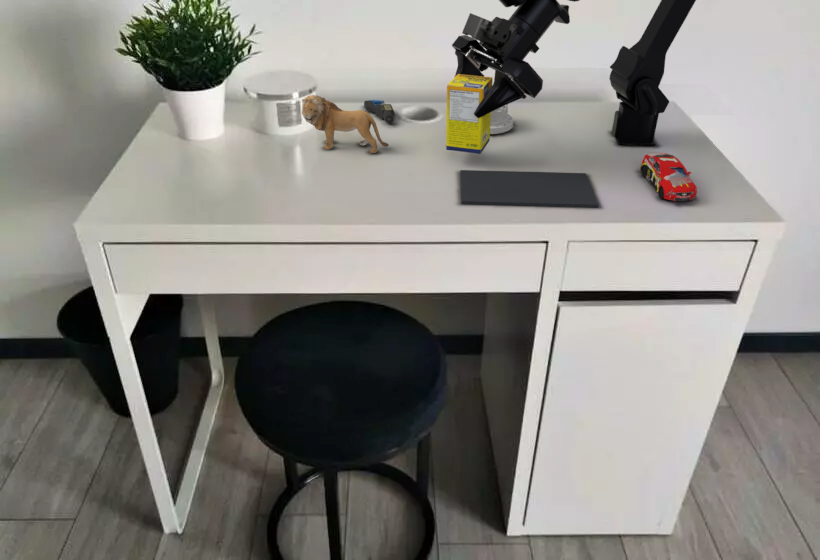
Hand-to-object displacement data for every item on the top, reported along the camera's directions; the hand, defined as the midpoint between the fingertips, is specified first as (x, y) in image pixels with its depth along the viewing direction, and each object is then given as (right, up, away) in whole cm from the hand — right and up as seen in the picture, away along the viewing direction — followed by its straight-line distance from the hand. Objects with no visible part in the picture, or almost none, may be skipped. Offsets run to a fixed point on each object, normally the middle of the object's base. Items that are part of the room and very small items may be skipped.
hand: (461, 108), depth 113 cm
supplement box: (+1, -5, +4) cm, 7 cm away
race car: (+32, -13, -2) cm, 34 cm away
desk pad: (+10, -13, -4) cm, 17 cm away
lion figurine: (-20, -5, +10) cm, 22 cm away
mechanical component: (+6, +1, +19) cm, 20 cm away
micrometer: (-14, +4, +23) cm, 27 cm away
